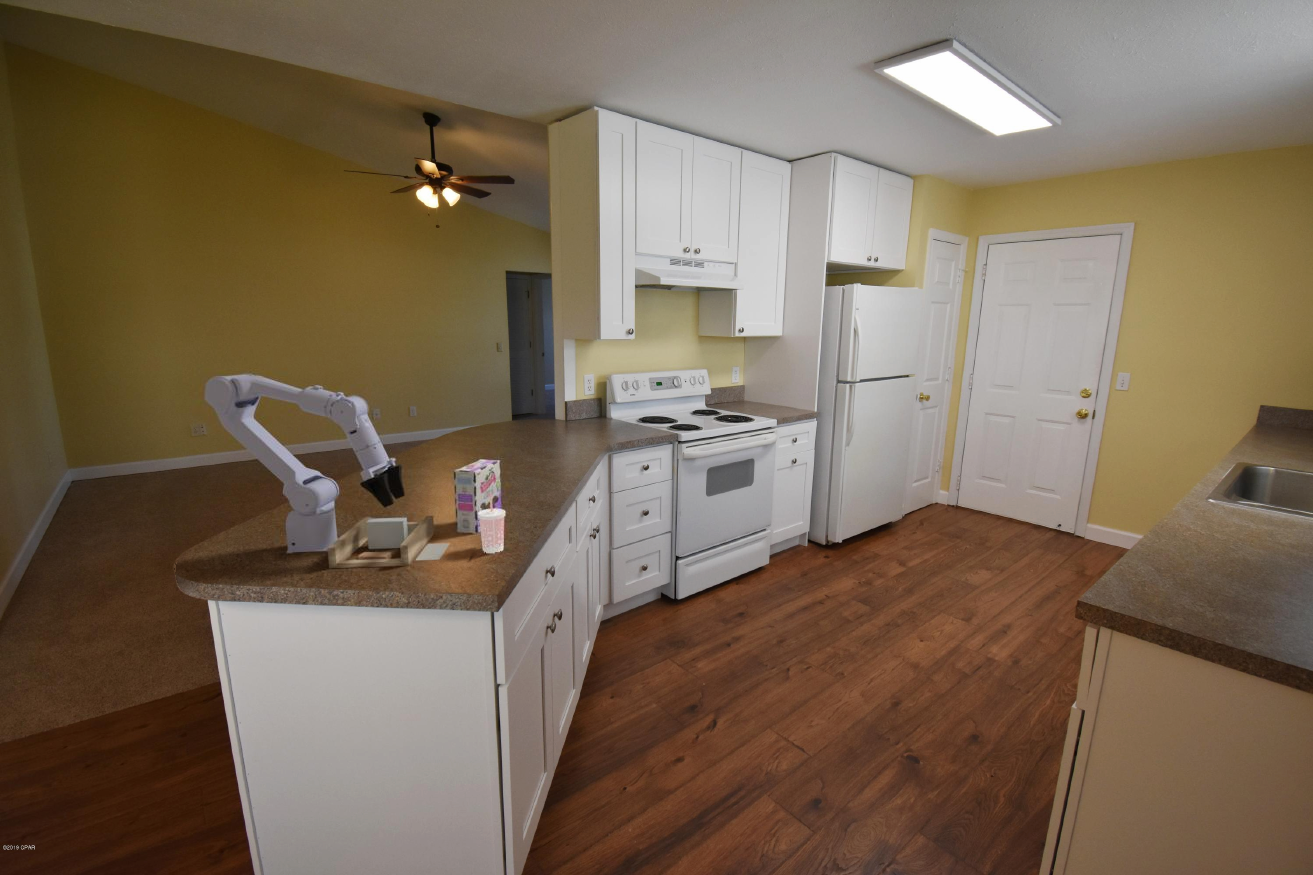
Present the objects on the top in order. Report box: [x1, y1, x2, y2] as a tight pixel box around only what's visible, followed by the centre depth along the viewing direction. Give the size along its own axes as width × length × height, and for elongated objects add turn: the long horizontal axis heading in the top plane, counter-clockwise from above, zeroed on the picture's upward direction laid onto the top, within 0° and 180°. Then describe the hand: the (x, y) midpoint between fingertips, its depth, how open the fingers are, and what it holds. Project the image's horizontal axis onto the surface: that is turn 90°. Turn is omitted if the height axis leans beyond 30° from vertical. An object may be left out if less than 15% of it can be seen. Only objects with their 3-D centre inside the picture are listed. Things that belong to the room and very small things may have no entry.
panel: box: [366, 517, 408, 550], centre depth 131 cm, size 8×2×7 cm, turn 97°
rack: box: [327, 515, 435, 569], centre depth 129 cm, size 16×20×5 cm
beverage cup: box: [478, 491, 506, 554], centre depth 130 cm, size 6×6×14 cm
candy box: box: [453, 458, 503, 535], centre depth 146 cm, size 14×6×16 cm, turn 168°
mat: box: [414, 542, 451, 562], centre depth 128 cm, size 5×10×1 cm, turn 7°
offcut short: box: [357, 551, 392, 560], centre depth 124 cm, size 6×2×1 cm, turn 90°
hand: (395, 501), depth 130 cm, fingers open, 7 cm apart
